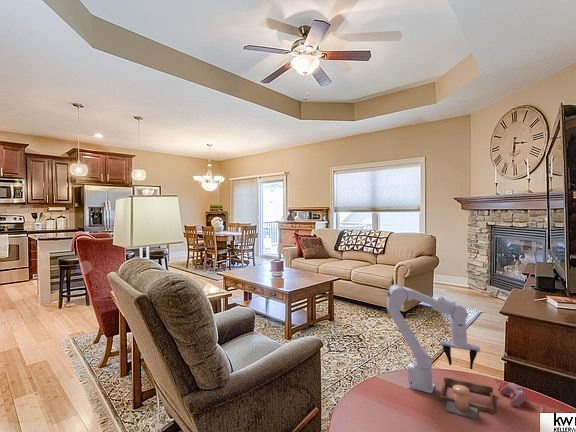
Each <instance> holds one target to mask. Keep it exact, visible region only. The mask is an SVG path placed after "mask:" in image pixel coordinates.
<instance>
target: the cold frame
mask: <svg viewBox="0 0 576 432" xmlns="http://www.w3.org/2000/svg"><path fill="white" fill-rule="evenodd" d="M454 385H462V386H465V387H467V388H469V391H472V392H475V393H480V394H485V395H488V396H489V397H490V404H489V405H490V406H487V405H481V404H479V403H475V402H470V401H469V406H471V407H475V408H478V411H482V412H486V413H490V414H494V387H493V386H490V385H485V384H480V383H475V382H471V381H465V380H461V379H457V378H453V377H446V376H443V384H442V387H441V390H440V394H439V401H443V402H446V403H447V401H451V402H455V401H454V398H452V397H450V396H449V397H448V396H445V395H444V394H445V391H446V388H447V386H449V387H453V386H454Z"/></svg>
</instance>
